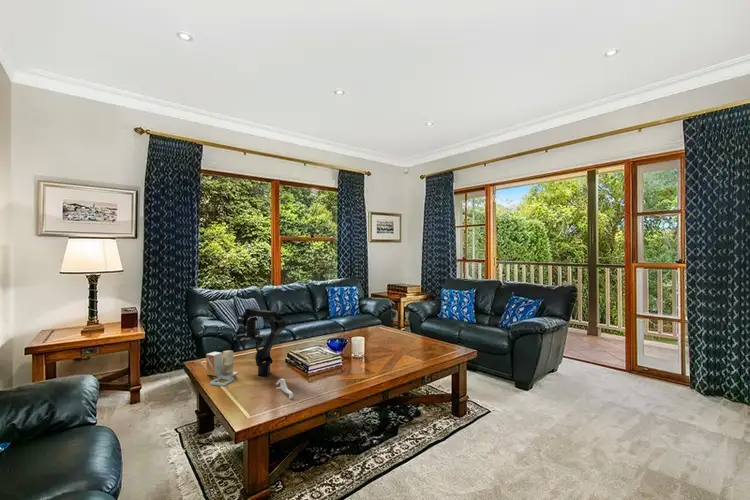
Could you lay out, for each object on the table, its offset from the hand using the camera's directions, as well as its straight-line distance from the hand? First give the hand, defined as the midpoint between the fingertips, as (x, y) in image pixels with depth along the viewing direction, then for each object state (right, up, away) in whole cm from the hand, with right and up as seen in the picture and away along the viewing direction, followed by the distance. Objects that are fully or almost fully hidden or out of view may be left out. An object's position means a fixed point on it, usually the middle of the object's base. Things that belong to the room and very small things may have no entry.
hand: (250, 350), depth 231 cm
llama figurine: (+30, -14, -34) cm, 48 cm away
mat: (-12, -13, -8) cm, 19 cm away
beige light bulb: (-12, -12, -8) cm, 19 cm away
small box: (-20, -13, -7) cm, 25 cm away
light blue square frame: (-10, -13, -20) cm, 26 cm away
